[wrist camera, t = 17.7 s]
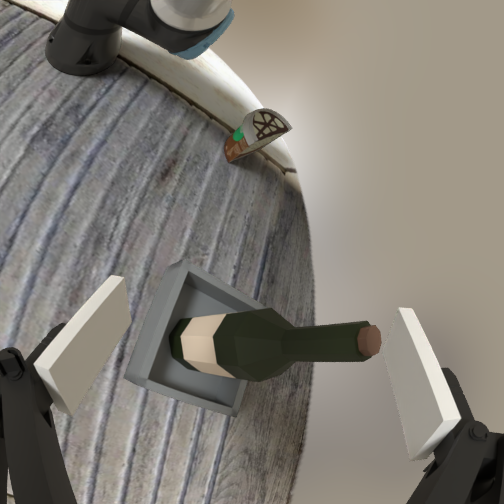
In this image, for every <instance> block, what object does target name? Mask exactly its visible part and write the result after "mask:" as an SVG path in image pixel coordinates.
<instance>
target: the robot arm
mask: <svg viewBox="0 0 504 504" xmlns="http://www.w3.org/2000/svg"><path fill="white" fill-rule="evenodd" d="M233 18H234V11H233V10H232V9H231V0H69V1H68V4H67V7H66V10H65V13H64V15H63V17H62V18H61V19H60V21H59V22H58V23H57V25H56V26H55V27H54V29H53V30H52V32H51V33H50V35H49V37H48V40H47V43H46V47H45V54H46V58H47V60H48V61H49V63H50V64H51V65H52V66H53V67H55V68H56V69H58V70H60V71H62V72H65V73H68V74H73V75H90V74H95V73H98V72H101V71H103V70H105V69H107V68H108V67H109V66H110V65H112V63H113V62H114V61H115V59H116V57H117V55H118V53H119V50H120V47H121V36H122V27H124V28H126V29H128V30H130V31H132V32H134V33H136V34H138V35H140V36H142V37H144V38H146V39H147V40H149V41H151V42H153V43H155V44H157V45H159V46H160V47H162V48H164V49H166V50H168V52H169V53H171V54H173V55H177V56H179V57H181V58H183V59H186V60H191V59H194V58H196V57H198V56H199V55H201V54H202V53H203V52H205V51H206V50H207V49H208V47H209V46H210V45H212V44H213V43H214V42H215V41H216V40H217V39H218V38H219V37H220V36H221V35H222V34H223V32H224V31H225V30H226V29H227V28H228V26H229V25H230V24H231V22H232V20H233ZM131 323H132V321H131V315H130V310H129V304H128V298H127V292H126V285H125V278H124V277H119V276H113V275H111V276H110V277H109V278H108V279H107V280H106V281H105V282H104V283H103V284H102V286H101V287H100V288H99V289H98V290H97V291H96V292H95V293H94V294H93V295H92V296H91V297H90V299H89V300H88V301H87V302H86V303H85V304H84V305H83V306H82V307H81V308H80V310H79V311H78V312H77V313H76V314H75V315H74V316H73V318H72V319H71V320H70V321H69V322H68V323H67V324H65V323H61V324H59V325H58V326H56V327H54V328H53V329H52V330H51V331H50V332H49V333H48V334H47V336H46V337H45V338H44V339H43V340H42V341H41V343H40V344H39V345H38V346H37V347H36V348H35V350H34V351H33V352H32V353H31V354H30V356H29V357H28V358H27V359H26V360H25V361H24V358H23V356H22V354H21V352H20V351H19V350H18V349H16V348H13V347H11V348H6V349H3V350H1V351H0V504H7V476H8V468H9V474H10V480H11V485H12V490H13V495H14V499H15V504H77V502H76V499H75V496H74V493H73V490H72V487H71V484H70V481H69V478H68V475H67V471H66V468H65V465H64V461H63V457H62V454H61V450H60V446H59V442H58V438H57V434H56V429H55V425H54V420H53V415H52V411H51V409H50V406H51V404H52V403H53V402H54V404H55V406H56V407H57V409H58V411H61V412H63V413H65V414H68V415H70V416H73V415H74V413H75V411H76V410H77V408H78V406H79V405H80V403H81V401H82V400H83V398H84V396H85V395H86V393H87V391H88V390H89V388H90V387H91V385H92V383H93V382H94V380H95V378H96V377H97V375H98V374H99V372H100V370H101V369H102V367H103V366H104V364H105V363H106V361H107V359H108V358H109V356H110V355H111V353H112V352H113V350H114V348H115V347H116V345H117V344H118V342H119V341H120V339H121V338H122V336H123V335H124V333H125V332H126V330H127V329H128V327H129V326H130V324H131ZM382 353H383V357H384V360H385V364H386V367H387V370H388V374H389V377H390V381H391V385H392V389H393V392H394V396H395V400H396V404H397V408H398V411H399V415H400V419H401V424H402V428H403V433H404V437H405V441H406V446H407V450H408V455H409V460H410V461H415V460H422V459H427V457H428V456H429V455H430V454H431V453H432V452H434V455H435V459H434V460H433V461H432V462H431V463H430V464H429V465H428V466H427V467H426V468H425V469H424V470H423V472H426V473H425V475H424V477H423V478H422V480H421V482H420V483H419V485H418V486H417V488H416V490H415V491H414V493H413V494H412V496H411V497H410V499H409V500H408V502H407V503H406V504H504V434H501V433H493V432H489V430H488V429H487V427H486V426H485V425H484V424H483V423H481V422H479V421H475V420H474V417H473V415H472V413H471V410H470V408H469V405H468V403H467V400H466V398H465V396H464V394H463V391H462V389H461V387H460V385H459V382H458V380H457V378H456V376H455V375H454V374H453V372H452V371H451V370H450V369H449V368H440V366H439V363H438V361H437V359H436V357H435V354H434V352H433V350H432V348H431V346H430V344H429V342H428V339H427V338H426V335H425V333H424V331H423V329H422V327H421V325H420V323H419V321H418V319H417V317H416V315H415V313H414V311H413V309H412V308H398V310H397V313H396V316H395V318H394V321H393V324H392V327H391V329H390V332H389V334H388V337H387V340H386V342H385V345H384V347H383V350H382Z"/></svg>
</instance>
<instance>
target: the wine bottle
mask: <svg viewBox="0 0 504 504" xmlns="http://www.w3.org/2000/svg"><path fill="white" fill-rule="evenodd" d="M169 342H170V349H171V355H172V358H173V359H175V360H176V361H177V362H179V363H180V364H181V365H183V366H184V367H185V368H187V369H188V370H193V371H198V372H203V373H208V374H213V375H219V376H224V377H230V378H236V379H242V380H249V381H255V382H261V381H264V380H267V379H270V378H273V377H276V376H279V375H281V374H282V373H283V372H285V371H286V370H287V369H288V368H289V367H290V366H291V365H292V364H294V363H295V362H296V361H303V362H364V361H366V360H368V359H369V358H371V357H372V356H373V355H375V354H377V353H379V349H380V346H381V334H380V331H379V329H378V328H377V327H376V325H372V326H371V325H370V324H369V322H368V321H360V322H351V323H341V324H331V325H320V326H308V327H294V326H293V325H292V324H290V323H289V322H288V321H287V320H285V319H284V318H283V317H282V316H281V315H279V314H278V313H277V312H276V311H275V310H273V309H272V308H266V309H258V310H251V311H243V312H235V313H226V314H218V315H209V316H200V317H192V318H183V319H180V320H179V321H178V323H177V324H176V326H175V327H174V329H173V330H172V331H171V333H170V334H169Z"/></svg>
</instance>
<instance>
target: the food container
mask: <svg viewBox="0 0 504 504" xmlns="http://www.w3.org/2000/svg"><path fill="white" fill-rule="evenodd" d="M291 129H292V127H291V125H290V124H289V123H288V121H287V120H286V119H285V118H284V117H282V116H281V115H280V114H279V113H277V112H275V111H273V110H271V109H265V108H263V109H258V110H255V111H253V112H251V113H249V114H247V116H246V117H245V119H244V122H243V124H242V125H241V126H240V127H239V128H238V129H237V130H236V131H235V132H234V133H233V134H232V135H231V136H230V137H229V138H228V139H227V140H226V142H225V145H224V152H225V156H226V159H227V161H228V163H230V162H232V161H234V160H237V159H239V158H242V157H244V156H247V155H249V154H252V153H254V152H257V151H259V150H260V149H262V148H263V147H265V146H266V145H268V144H269V143H271V142H272V141H274V140H275V139H277V138H278V137H280V136H281V135H283V134H285V133H287V132H288V131H290V130H291Z"/></svg>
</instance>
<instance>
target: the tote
mask: <svg viewBox="0 0 504 504" xmlns="http://www.w3.org/2000/svg"><path fill="white" fill-rule="evenodd" d="M266 308H268V307H267V306H265V305H263V304H261V303H259V302H258V301H256V300H254V299H252V298H251V297H249V296H247V295H245V294H244V293H242V292H240V291H238V290H237V289H235V288H233V287H231V286H230V285H228V284H226V283H225V282H223V281H221V280H219V279H218V278H216V277H214V276H213V275H211V274H209V273H207V272H206V271H204V270H202V269H201V268H199V267H197V266H196V265H194V264H192V263H191V262H189V261H187V260H186V259H183V260H181V261H179V262H177V263H174V264H172V265H170V266H168V267H167V269H166V271H165V273H164V276H163V278H162V280H161V283H160V285H159V287H158V290H157V292H156V295H155V297H154V299H153V302H152V304H151V307H150V309H149V312H148V314H147V317H146V319H145V322H144V324H143V327H142V329H141V332H140V334H139V337H138V340H137V342H136V345H135V347H134V350H133V353H132V355H131V358H130V361H129V364H128V366H127V369H126V372H125V375H124V377H123V378H125V379H126V380H128V381H130V382H132V383H134V384H136V385H138V386H141V387H143V388H146V389H149V390H151V391H154V392H157V393H159V394H162V395H165V396H168V397H171V398H174V399H176V400H179V401H182V402H185V403H189V404H192V405H195V406H198V407H201V408H205V409H208V410H211V411H215V412H218V413H222V414H225V415H229V416H233V417H237V414H238V411H239V408H240V405H241V402H242V398H243V395H244V392H245V388H246V385H247V382H248V380H242V379H236V378H230V377H224V376H219V375H213V374H208V373H203V372H198V371H193V370H188V369H187V368H185V367H184V366H183V365H181V364H180V363H179V362H177V361H176V360H175V359H173V358H172V355H171V349H170V342H169V334H170V333H171V331H172V330H173V329H174V327H175V326H176V324H177V323H178V321H179V320H180V319H183V318H192V317H200V316H209V315H218V314H226V313H235V312H243V311H251V310H258V309H266Z"/></svg>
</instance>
